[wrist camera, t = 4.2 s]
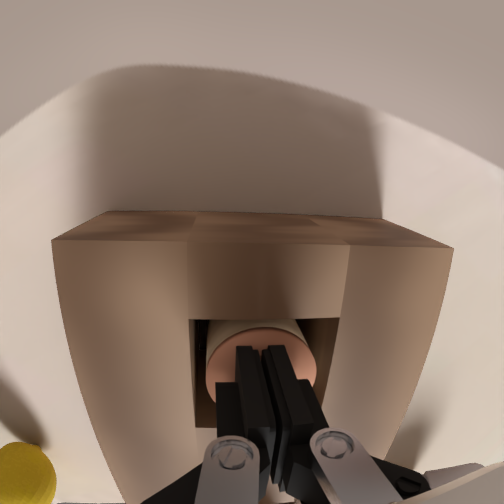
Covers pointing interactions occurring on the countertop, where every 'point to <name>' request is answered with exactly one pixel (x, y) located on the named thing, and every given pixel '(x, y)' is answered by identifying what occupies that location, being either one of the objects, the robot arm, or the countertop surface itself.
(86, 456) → the countertop surface
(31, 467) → the lemon
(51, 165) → the countertop surface
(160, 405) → the block
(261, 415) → the robot arm
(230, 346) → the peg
